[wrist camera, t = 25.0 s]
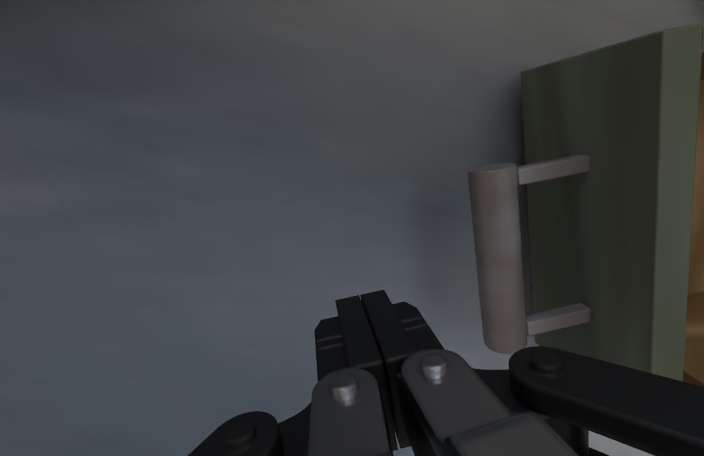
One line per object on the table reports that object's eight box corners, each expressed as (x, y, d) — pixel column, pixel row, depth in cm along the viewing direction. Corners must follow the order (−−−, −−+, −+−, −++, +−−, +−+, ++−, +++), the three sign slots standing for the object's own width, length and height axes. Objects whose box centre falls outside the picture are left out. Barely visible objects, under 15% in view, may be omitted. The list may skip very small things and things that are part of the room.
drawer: (456, 361, 20) (534, 474, 13) (424, 88, 16) (508, 56, 10) (780, 284, 21) (996, 352, 14) (813, 21, 18) (1115, -47, 11)
